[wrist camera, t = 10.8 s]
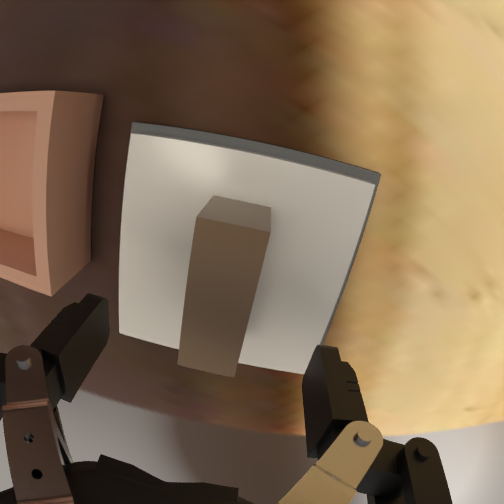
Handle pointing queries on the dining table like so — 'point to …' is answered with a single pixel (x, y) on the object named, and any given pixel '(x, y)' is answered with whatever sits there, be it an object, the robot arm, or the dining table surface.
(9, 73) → the dining table surface
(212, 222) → the lid
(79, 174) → the dish
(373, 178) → the mat
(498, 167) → the dining table surface
